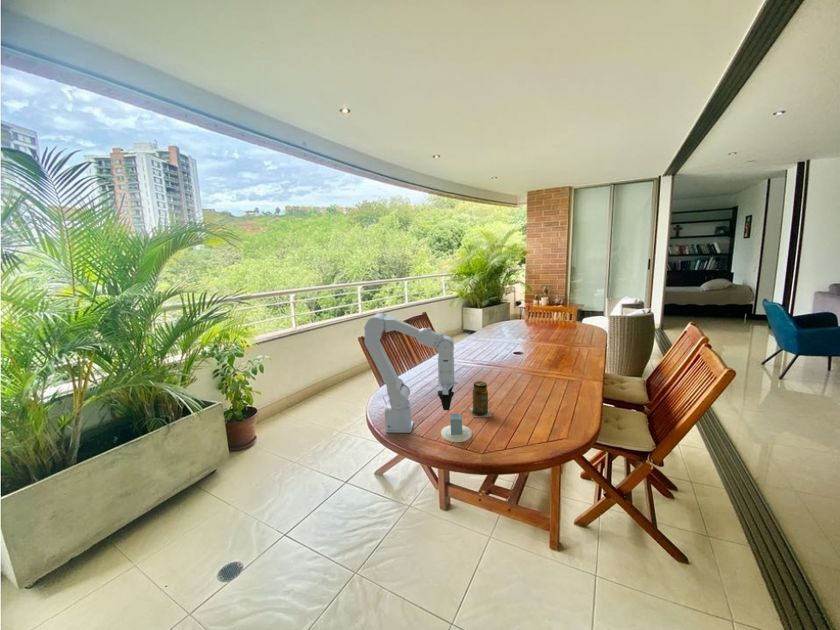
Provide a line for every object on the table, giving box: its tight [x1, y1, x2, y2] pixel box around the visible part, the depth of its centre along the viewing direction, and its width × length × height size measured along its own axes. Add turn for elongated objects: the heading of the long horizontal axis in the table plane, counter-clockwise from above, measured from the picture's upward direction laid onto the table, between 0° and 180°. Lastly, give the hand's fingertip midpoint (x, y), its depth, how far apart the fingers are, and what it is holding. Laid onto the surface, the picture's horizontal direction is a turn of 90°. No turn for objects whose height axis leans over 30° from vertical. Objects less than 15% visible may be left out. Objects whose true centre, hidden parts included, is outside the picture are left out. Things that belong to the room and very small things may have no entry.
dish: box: [440, 424, 473, 443], centre depth 122 cm, size 11×11×1 cm
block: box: [449, 413, 463, 435], centre depth 121 cm, size 4×4×6 cm
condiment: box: [469, 380, 493, 418], centre depth 135 cm, size 7×8×12 cm
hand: (446, 404), depth 124 cm, fingers open, 7 cm apart
